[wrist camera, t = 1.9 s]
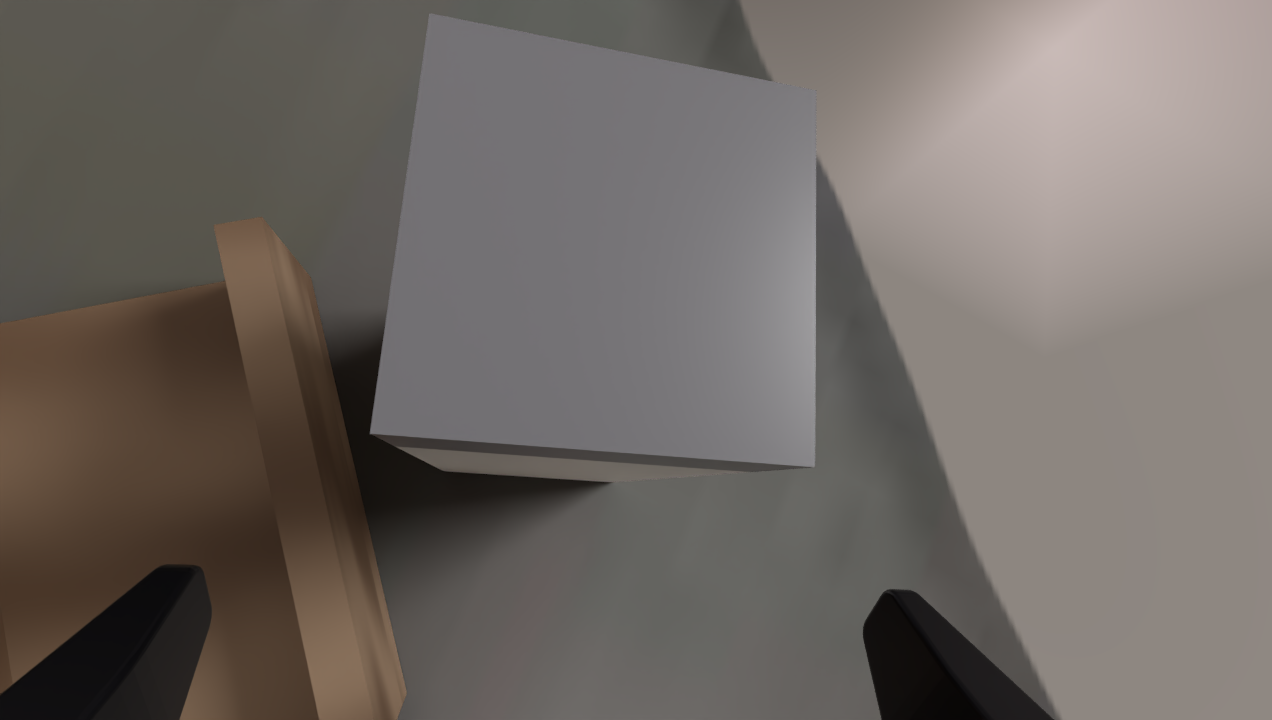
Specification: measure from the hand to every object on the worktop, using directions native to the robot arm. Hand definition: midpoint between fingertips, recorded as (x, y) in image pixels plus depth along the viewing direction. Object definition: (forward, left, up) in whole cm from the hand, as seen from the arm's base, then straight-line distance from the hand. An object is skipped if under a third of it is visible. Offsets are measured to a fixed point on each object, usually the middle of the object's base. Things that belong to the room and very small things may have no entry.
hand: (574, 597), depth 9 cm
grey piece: (+4, -1, -11) cm, 12 cm away
